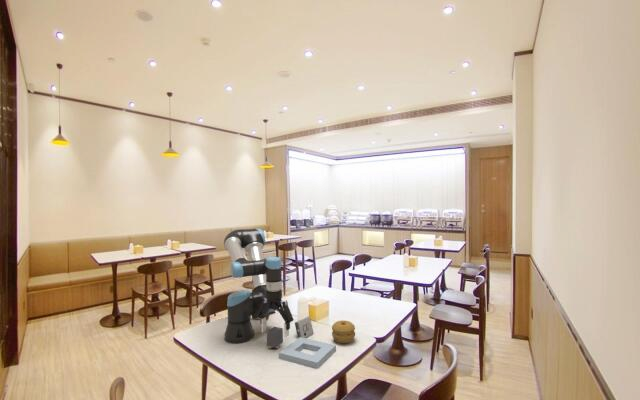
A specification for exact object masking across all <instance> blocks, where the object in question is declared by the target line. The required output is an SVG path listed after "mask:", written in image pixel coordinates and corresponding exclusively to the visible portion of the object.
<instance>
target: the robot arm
mask: <svg viewBox="0 0 640 400" xmlns="http://www.w3.org/2000/svg"><path fill="white" fill-rule="evenodd" d="M265 245H266V236H265V233H264V231H263V230H262V229H261V228H255V227H254V228H242V229H234V230H232V231H230V232H229V233H228V234H227V235H226V236H225V238H224V240H223V246H224V248H225V250H226V251H227V252H228V255H229V257H230V259H231V264H230V274H231V277H232V278H234V279H235V278H236V279H237V278H239V279H240V278H244V277H245V278H246V277H251V280H252V284H253V288H252V289H251V291H250V290H249V289H240V290H237V291H234V292H231V293H230V294H229V295H228V296H227V304H226V306H227V326H226V327H225V332H224V341H225V342H227V343H229V344H241V343H247V342H248V341H250V340H252V339H253V338H254V337H255V330H254V328H253V324H252V322H251V317H252V315H257V317H260V318H259V319H260V321H259V322H260V325H261V333H265V332H267V321H266V317H265V315H266V314H267V313H269V312H273V311H275V310H276V311H277V312H278V313H279V314H280V316H281V318H282V319H283V320H284V323H283V330H284V331H283V334H284V335H283V338H287V337H289V336H290V329H291V323H292V322H293V321H294V316H293V315H292V312H291V309H290V307H289V304H288V300H282V298H283V290H282V289H283V281H282V279H283V278H282V258H280V257H278V256H271V257H266V258H264V253H263V249H264V247H265ZM245 253H247V256H246V254H245ZM247 257H248V258H247ZM276 311H275V312H276Z"/></svg>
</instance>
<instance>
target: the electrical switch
mask: <svg viewBox="0 0 640 400" xmlns="http://www.w3.org/2000/svg"><path fill="white" fill-rule="evenodd" d="M294 326H295V331H296V334H297V335H296V336H297V339H298V338H299V337H302V338H306V339H308V337H310V336H312V335H314V328H313V324H312V318H311V317H310V316H306V317H304V318H301V319H299V320H298V321H295V322H294Z"/></svg>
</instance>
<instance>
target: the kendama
mask: <svg viewBox="0 0 640 400" xmlns="http://www.w3.org/2000/svg"><path fill="white" fill-rule="evenodd" d="M276 311H277V310H275V311H273V312H269V313H267V314H266V315H265V317H266V322H267V321H268V320H269V317H270V315H271V314H274V313H275V312H276ZM251 319H252V320H256V319H260V317H257V315H251Z"/></svg>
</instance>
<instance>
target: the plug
mask: <svg viewBox="0 0 640 400" xmlns="http://www.w3.org/2000/svg"><path fill="white" fill-rule="evenodd" d="M283 330H284V327H283V328H282V327H278V326H273V327H271V328H270V329H268V330H266V345H267V347H268V349H272V348H276V349H280V346H281V345H282V344H284V339H283V338H284V335H283V334H284V331H283Z"/></svg>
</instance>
